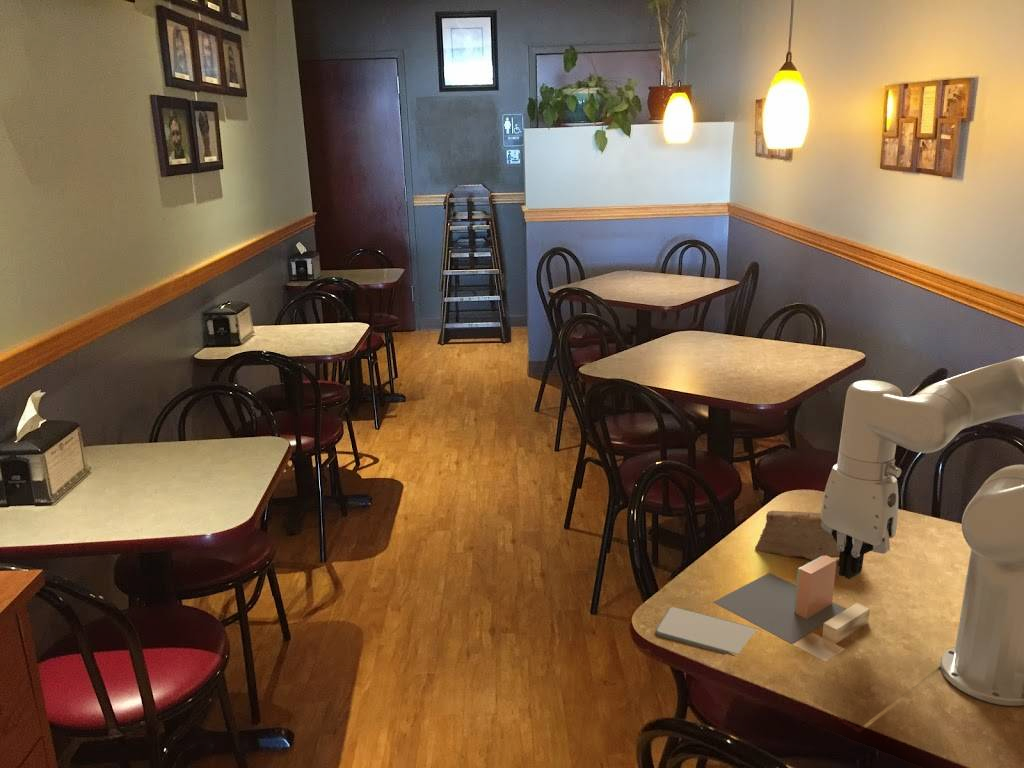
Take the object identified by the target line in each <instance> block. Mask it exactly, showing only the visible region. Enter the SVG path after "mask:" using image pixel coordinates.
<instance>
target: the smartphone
mask: <svg viewBox="0 0 1024 768" xmlns="http://www.w3.org/2000/svg"><path fill="white" fill-rule="evenodd" d="M757 630H760V631H761V629H759V628H758V627H753V626H750V625H746V624H742V623H738V622H735V621H730V620H727V619H723V618H718V617H717V616H716V617H715V616H711V615H708V614H704V613H700V612H696V611H692V610H688V609H685V608H681V607H677V606H670V607H669V608H668V609H667V610H666V612H665V614H664V615H663V617H662V619H661V620H660V622H659V623H658V625H657V627H656V629H655V634H656V636H658V637H661V638H665V639H668V640H671V641H672V640H673V641H676V642H680V643H683V644H688V645H691V646H695V647H699V648H703V649H706V650H710V651H714V652H718V653H722V654H725V655H728V656H733V657H736V655H735V654H737V655H741V656H746V655H745V654H740V652H741V651H742V649H743V648H744V647H745V645H746V644H747V642H749V641H750V639H751V638H752V637H753V635H754V634H755V632H756V631H757ZM761 635H762V632H760V634H759V636H758V638H757V641H756V642H758V640H759V639H760V637H761ZM756 646H757V644H755V646H754V647H756Z"/></svg>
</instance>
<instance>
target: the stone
mask: <svg viewBox="0 0 1024 768" xmlns="http://www.w3.org/2000/svg"><path fill="white" fill-rule="evenodd" d="M765 520H766V522H765V526H764V528H763V529H762V533H761V534H760V537H759V539H758V541H757V543H756V545H755V551H757V552H764V553H768V554H775V555H781V556H784V557H789V558H791V557H798V558H799V557H801V558H805V559H806V560H809V561H810V560H811V561H813V560H815V559H817V558H819V557H821V556H825V555H826V556H829V557H831V558H834V559H836V558H838V559H839V556H840V551H839V550H838V548H837V542H836V541H835V539H834V537H833V536H832V534H830V533H829V532H827V531H826V530H825V529H823V528H822V527H821V523H822V520H821V512H811V511H792V510H791V511H789V510H770V511H767V513H766V515H765ZM854 542H855V538H854Z"/></svg>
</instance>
